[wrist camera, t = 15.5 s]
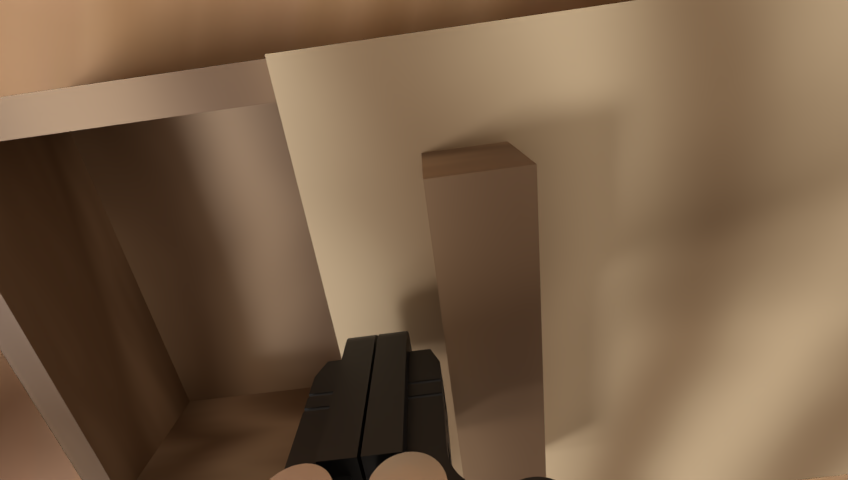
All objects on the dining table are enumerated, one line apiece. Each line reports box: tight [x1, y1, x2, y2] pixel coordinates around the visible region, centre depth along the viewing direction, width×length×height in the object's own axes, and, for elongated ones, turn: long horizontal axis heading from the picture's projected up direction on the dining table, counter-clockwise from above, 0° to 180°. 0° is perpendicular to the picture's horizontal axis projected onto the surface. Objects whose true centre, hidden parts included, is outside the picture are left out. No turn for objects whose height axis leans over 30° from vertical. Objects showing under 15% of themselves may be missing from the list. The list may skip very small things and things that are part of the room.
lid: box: [265, 0, 848, 480], centre depth 11 cm, size 18×15×4 cm
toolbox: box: [0, 59, 342, 480], centre depth 16 cm, size 24×15×6 cm, turn 97°
